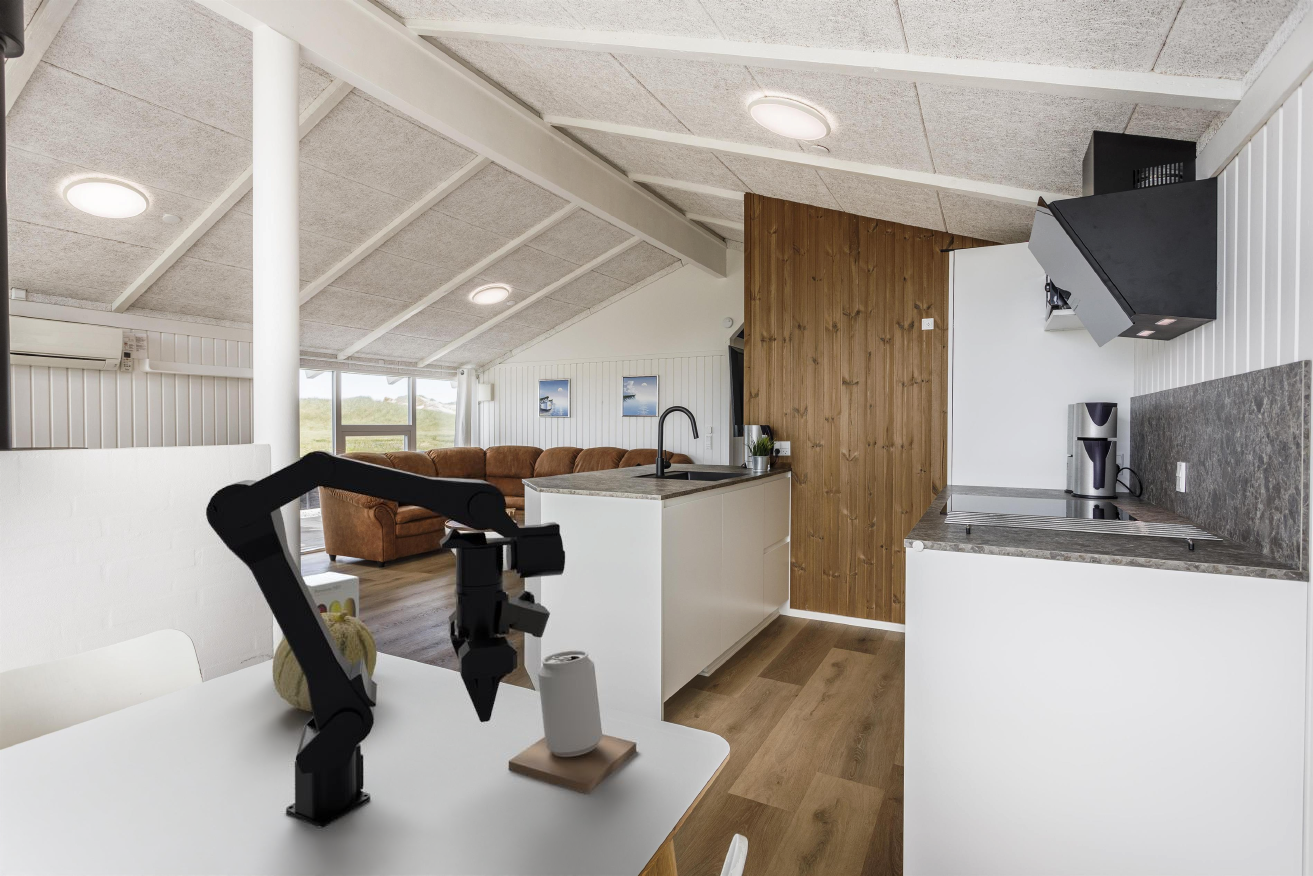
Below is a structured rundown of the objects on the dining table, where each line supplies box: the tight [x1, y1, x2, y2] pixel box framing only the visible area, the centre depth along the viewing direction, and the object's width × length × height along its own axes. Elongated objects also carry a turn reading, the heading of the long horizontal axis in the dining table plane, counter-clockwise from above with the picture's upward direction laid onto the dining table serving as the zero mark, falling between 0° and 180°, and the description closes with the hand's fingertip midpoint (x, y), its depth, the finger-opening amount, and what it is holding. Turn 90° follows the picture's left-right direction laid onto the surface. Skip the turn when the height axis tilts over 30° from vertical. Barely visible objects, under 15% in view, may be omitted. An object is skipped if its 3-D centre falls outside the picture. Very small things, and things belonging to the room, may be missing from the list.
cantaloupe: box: [272, 611, 378, 713], centre depth 103 cm, size 15×15×15 cm
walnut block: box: [508, 733, 637, 795], centre depth 87 cm, size 12×12×2 cm
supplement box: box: [282, 571, 360, 638], centre depth 119 cm, size 10×9×17 cm
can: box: [537, 649, 603, 757], centre depth 87 cm, size 8×8×12 cm
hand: (480, 706), depth 82 cm, fingers open, 9 cm apart
